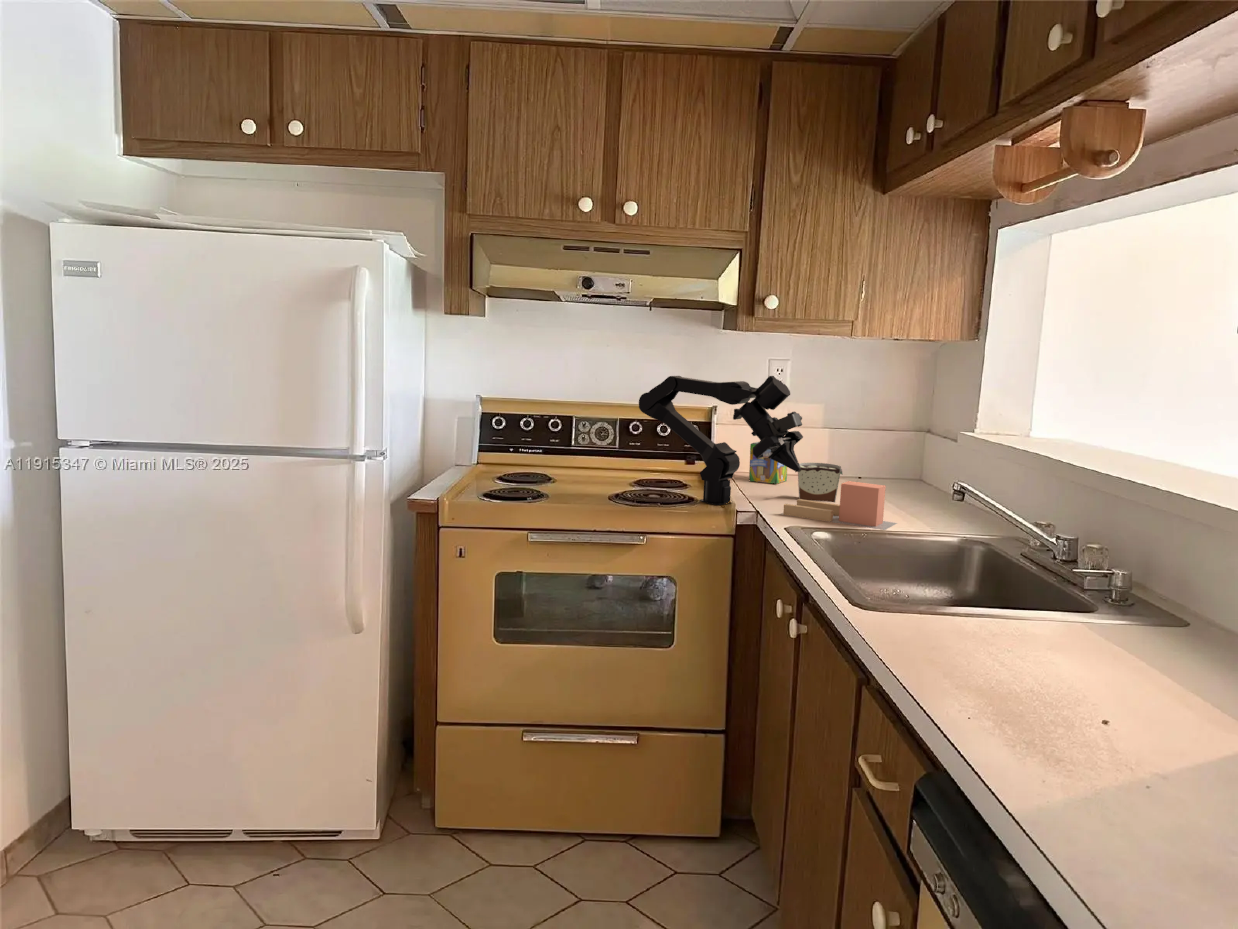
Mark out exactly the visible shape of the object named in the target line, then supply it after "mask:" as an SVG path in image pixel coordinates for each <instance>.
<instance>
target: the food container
mask: <svg viewBox="0 0 1238 929" xmlns="http://www.w3.org/2000/svg"><path fill="white" fill-rule="evenodd" d="M799 465H800V468H801V470H800V471H798V472H796V471H794V472H795V473H797V481H798V482H797V486H798V499H803V500H810V501H817V502H827V503H836V500H837V494H838V489H839V482H840V477H841V475H843V469H842V466H840V465H838V464H832V463H825V462H824V463H823V462H801V463H799Z"/></svg>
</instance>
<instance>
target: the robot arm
mask: <svg viewBox="0 0 1238 929" xmlns="http://www.w3.org/2000/svg"><path fill="white" fill-rule="evenodd" d="M678 393H687V394H692V395H699V396H706V397H711V398H714V399H716V400H718V401H720V402H722V403H725V404H727V405H732V406H733V405H741V404H742V406H741V407H739V408H734V409H733V416H732V420H741V419H743V420H744V421H745V423H746V424H747V425H748V427H749V428H750V429H751V430H752V432H751V433H750V434H751V435H752V436H753V437H757V438H758V439H759V441H758V442H759V443H757V444H756V445H755V446H754V447H753V452H752V453H753V454H754V456H755V457H756V458H757V459H759V458H762V457H763V453H764V452H766V451H767V450H769V449H770V450H771V451H770V452H771V453H772V454H771V455H770V456H769V457H768V458H769V459H772V460H774V461H776V462H778V463H781V464H782V465H784V466H786V467H787V469H790V470H792V471H794V472H795V471H796V472H795V473H798V471H800V470H801V468H800V465H799V464H800V463H799V460H798V458H797V455H796V453H795V450H794V449H795V445H796V444H798V443H799V442H800V441H801V440H802V439H803V438H804V436H803V434H802V433H801V432H800V430H792V431H790V430H791V429H794V428H796V427H801V426H803V423H802V420H803V416H802V415H800V413H797V412H796V411H792V412H789V413H787V415H786V416H784V417H781V418H778V417H775V416H774V417H772V416H771V414H770V413H769V412H768V410H769V409H770V410H771V411H774V410H775V409H776V408H778V407H779V406H780V405H781V404H782V403H783V402H784V401H785V400H786V399H788V397H790V396H791V390H790V389H789V387H788V386H787V385H786V384H785V383H783V382H782V381H781V380H780V379H778V378H776V377H775V375H769V376H768V377H767V378H766V379H765V381H764V382H763V383H762V384H761V385H760V386H758V387H753V386H751V385H750V383H749V382H747V381H744V380H743V381H741V380H739V381H723V382H721V381H720V382H718V381H711V380H704V379H698V378H697V379H696V378H692V377H683V376H680V375H670V376H667V378H665V379H664V380H663V381H661V383H659V384H658V385H656V386H654V387H652V389H650V390H649V391H648V392H644V393H642V394H641V395H640V396H639V399H638V409H639V410H640V411H641V413H642V414H645V415H646V416H648V417H650V418H651V419H654V420H656V421H659V422H661V423H664V425H665V426H667V427H668V429H670V430H672V432H674V433H675V434H676V435H677V436H678V437H680V438H681V439H682V440H683V441H684V442H685V443H687V444H688V445H689V446H690V447H691V448H693V449H694V450H695V451H696V452H697V453H698V454H699V455H700V456H701V458H702V461H703V463H704V465H705V467H704V468H703V469H702V470H701V471H699V475H700V479H701V480H702V481H703V494H702V497H703V498H701V499H699V500H698V501H699V503H705V504H708V505H714V506H722V505H727V504H726V503H728V502H729V501H730V500H731V495H732V494H731V493H732V490H731V489H732V487H731V479H733V477H734V476H735V473H736V472H737V471H738V470H739V467H740V464H741V462H740V456H739V455H738V454H737V450H735V449H733V448H731V447H730V445H729V444H728V443H727V442H725V441H723V442H719V443H718V442H717V443H715V442H713V440H711V439H710V438H709V437H708V436H706V435H705V434H704V433H703V432H702V431H701V430H700V429H698V428H697V427H696V426H695V425H693V424H692V423H691V422H690V421H689V420H688V419H686V417H684V416H683V415H682V414H680V413H679V412H678V410H676V408H675V405H674V402H672V401H673V400H674V399H675V398H676V397H677V396H678ZM751 399H752V400H751ZM750 400H751V401H750Z"/></svg>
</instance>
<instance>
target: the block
mask: <svg viewBox="0 0 1238 929" xmlns="http://www.w3.org/2000/svg"><path fill="white" fill-rule="evenodd" d="M886 488H887V487H886V485H882V484H875V483H868V482H858V481H850V480H848V481H845V482H843V483H841V484H840V498H839V505H840V509H839V521H843V522H849V523H856V524H863V525H869V526H878V525H880V524H882V523H883V521H884V515H885V514H884V512H885V500H886V499H885V498H886Z"/></svg>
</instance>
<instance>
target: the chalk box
mask: <svg viewBox="0 0 1238 929" xmlns="http://www.w3.org/2000/svg"><path fill="white" fill-rule="evenodd" d="M759 442H760V441H756V442H752V443H750V444H749V445H750V446H749V447H750V448H749V449H750V450H749V455H750V456H749V474H748V481H749V480H750V481H749V482H751V481H756V482H755V483H764V484H773V483H774V485H777V483H778V484H781V483H784V482H787V479H788V478H787V477H788V467H786V466H784V465H782V464H781V463H778V462H776V461H774V460H772V459H769V458H768V457H769V456H770V455H771V454H772V453H771V452H770V451H771V450H770V449H769V450H767V451H766V452H764V453H763V457H762V458H759V459H757V458H756V457H755V456H754V454H753V453H752V452H753V447H754V446H755V445H756V444H757V443H759Z"/></svg>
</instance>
